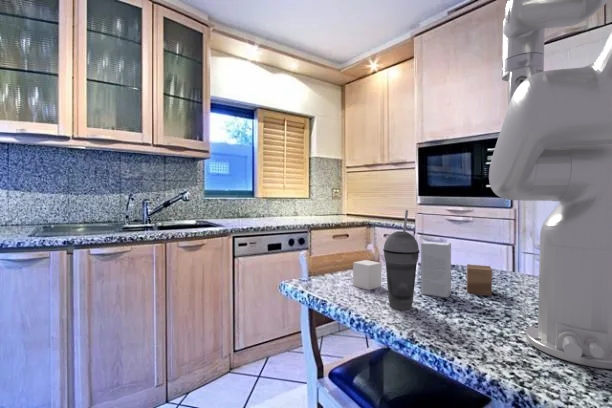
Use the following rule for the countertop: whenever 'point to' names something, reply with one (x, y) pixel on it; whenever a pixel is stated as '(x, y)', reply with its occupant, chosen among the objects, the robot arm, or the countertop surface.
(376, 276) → the off-white block
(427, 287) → the skincare box
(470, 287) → the walnut block
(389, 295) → the beverage cup
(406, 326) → the countertop surface
